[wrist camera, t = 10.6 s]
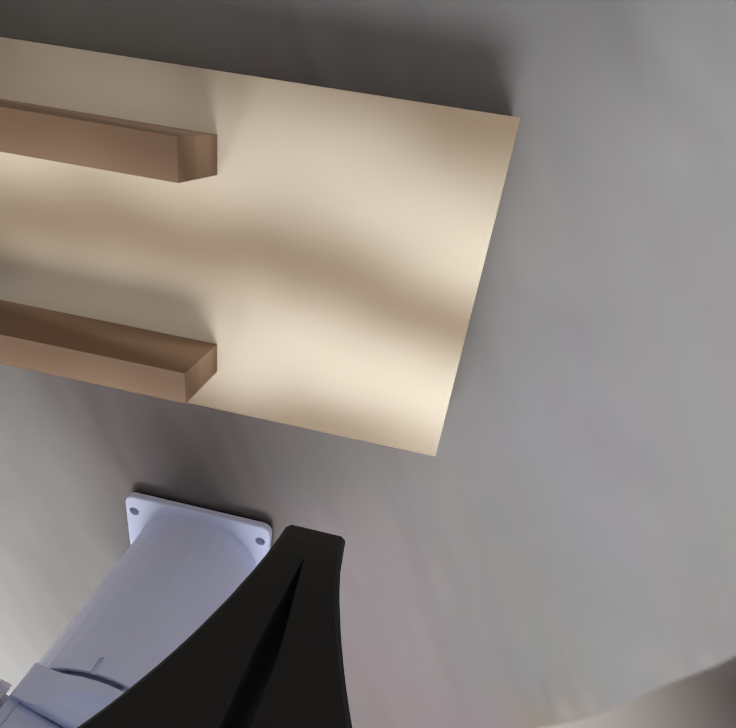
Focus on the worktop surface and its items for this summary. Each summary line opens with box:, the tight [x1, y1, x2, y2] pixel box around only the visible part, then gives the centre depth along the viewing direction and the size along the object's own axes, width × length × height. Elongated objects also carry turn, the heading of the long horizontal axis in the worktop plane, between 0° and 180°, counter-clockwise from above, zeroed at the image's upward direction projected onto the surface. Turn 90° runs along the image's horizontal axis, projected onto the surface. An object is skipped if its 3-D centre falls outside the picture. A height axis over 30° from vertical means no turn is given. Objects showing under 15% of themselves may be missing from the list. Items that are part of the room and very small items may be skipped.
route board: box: [0, 37, 521, 456], centre depth 18 cm, size 12×32×5 cm, turn 82°
